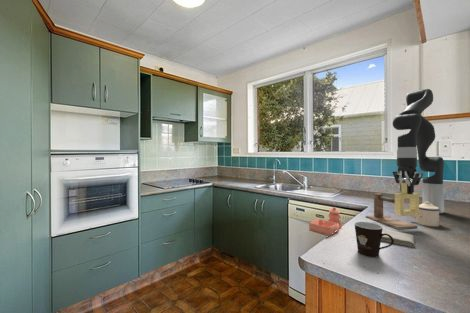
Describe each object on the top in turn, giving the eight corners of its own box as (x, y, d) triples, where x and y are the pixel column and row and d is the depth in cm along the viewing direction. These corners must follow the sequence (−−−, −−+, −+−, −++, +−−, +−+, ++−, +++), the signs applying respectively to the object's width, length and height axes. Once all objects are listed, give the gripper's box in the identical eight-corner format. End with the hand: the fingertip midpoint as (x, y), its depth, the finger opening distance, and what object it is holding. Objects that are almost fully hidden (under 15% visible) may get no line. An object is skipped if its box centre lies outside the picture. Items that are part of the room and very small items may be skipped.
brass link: (413, 213, 106) (413, 182, 106) (419, 215, 103) (419, 183, 103) (394, 214, 104) (394, 182, 104) (400, 215, 101) (400, 183, 101)
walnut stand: (365, 218, 122) (365, 193, 122) (383, 217, 124) (382, 192, 124) (397, 230, 103) (397, 200, 103) (417, 229, 104) (417, 199, 104)
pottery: (328, 237, 94) (328, 214, 94) (309, 231, 102) (309, 210, 102) (347, 228, 106) (347, 208, 106) (328, 223, 113) (328, 204, 113)
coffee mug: (349, 248, 82) (349, 222, 82) (371, 247, 83) (371, 221, 83) (371, 263, 71) (371, 232, 71) (396, 262, 72) (396, 231, 72)
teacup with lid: (438, 224, 111) (438, 201, 111) (441, 229, 104) (441, 204, 104) (408, 220, 119) (408, 198, 119) (408, 224, 111) (408, 201, 111)
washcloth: (365, 231, 103) (365, 224, 103) (414, 240, 92) (414, 232, 92) (360, 238, 94) (360, 231, 94) (415, 249, 83) (415, 241, 83)
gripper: (428, 156, 97) (428, 195, 97) (400, 156, 111) (400, 190, 111) (414, 156, 96) (414, 196, 96) (387, 156, 110) (387, 191, 110)
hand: (406, 193), depth 103 cm, fingers closed on brass link, 3 cm apart
